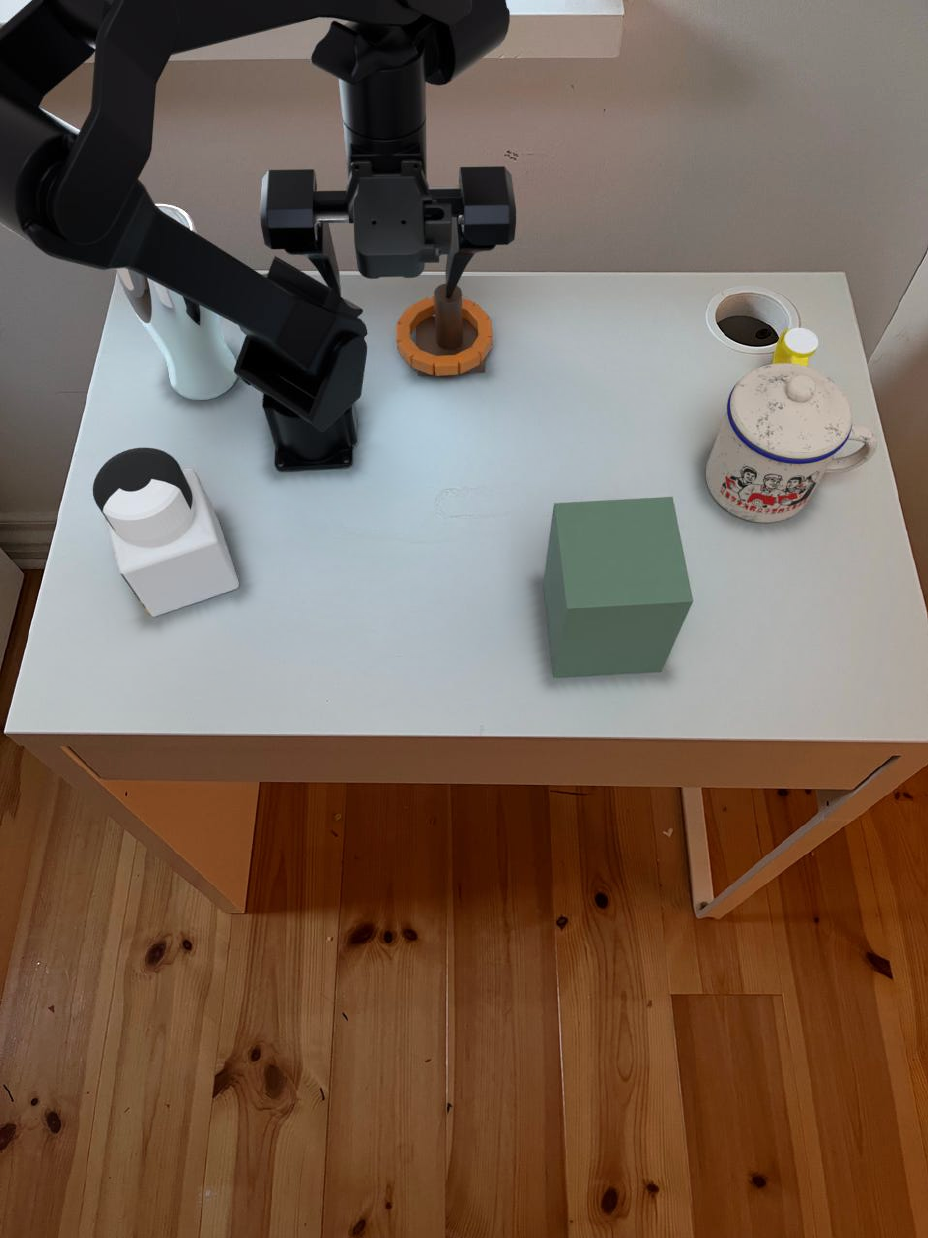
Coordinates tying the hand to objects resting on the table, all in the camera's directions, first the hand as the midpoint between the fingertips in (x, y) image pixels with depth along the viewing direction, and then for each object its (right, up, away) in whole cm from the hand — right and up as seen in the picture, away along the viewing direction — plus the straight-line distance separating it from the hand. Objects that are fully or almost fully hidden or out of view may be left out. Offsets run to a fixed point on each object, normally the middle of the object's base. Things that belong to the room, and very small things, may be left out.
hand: (393, 295), depth 75 cm
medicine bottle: (-16, -23, -4) cm, 28 cm away
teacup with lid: (+31, -16, -1) cm, 35 cm away
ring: (+4, -2, +5) cm, 7 cm away
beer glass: (-17, -5, +5) cm, 19 cm away
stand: (+5, -3, +6) cm, 8 cm away
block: (+16, -28, -7) cm, 33 cm away
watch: (+33, -7, +4) cm, 34 cm away
